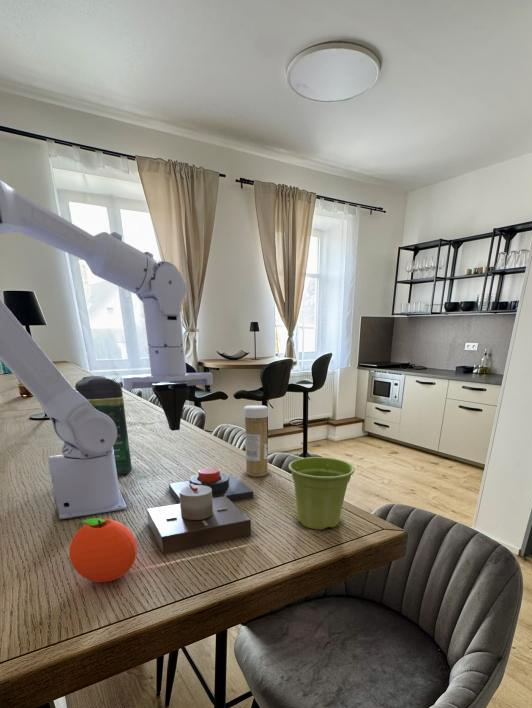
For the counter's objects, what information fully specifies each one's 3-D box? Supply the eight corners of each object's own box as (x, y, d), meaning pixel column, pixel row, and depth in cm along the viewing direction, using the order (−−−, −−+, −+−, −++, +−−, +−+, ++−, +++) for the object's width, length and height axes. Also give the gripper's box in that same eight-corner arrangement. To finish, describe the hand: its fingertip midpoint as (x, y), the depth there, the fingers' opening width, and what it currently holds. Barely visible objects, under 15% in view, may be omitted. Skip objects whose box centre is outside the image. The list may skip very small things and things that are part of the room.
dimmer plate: (163, 554, 52) (161, 535, 51) (148, 524, 60) (146, 507, 59) (251, 536, 57) (250, 518, 56) (226, 510, 65) (225, 494, 64)
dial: (217, 516, 57) (216, 490, 55) (186, 522, 55) (183, 495, 53) (207, 505, 60) (206, 481, 59) (177, 510, 58) (175, 485, 57)
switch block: (183, 510, 65) (182, 492, 64) (169, 490, 73) (167, 474, 72) (253, 498, 70) (253, 481, 69) (232, 481, 78) (231, 466, 77)
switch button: (202, 484, 68) (201, 474, 68) (196, 478, 71) (195, 468, 71) (223, 481, 70) (222, 472, 69) (216, 475, 73) (215, 466, 72)
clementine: (56, 579, 46) (43, 522, 44) (108, 554, 52) (100, 501, 49) (101, 602, 42) (90, 540, 40) (153, 572, 48) (146, 516, 45)
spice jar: (272, 474, 83) (272, 406, 78) (255, 479, 80) (254, 409, 75) (257, 469, 86) (257, 403, 81) (240, 473, 83) (238, 406, 78)
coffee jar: (137, 475, 81) (125, 377, 74) (94, 481, 77) (77, 379, 70) (125, 462, 89) (113, 373, 82) (86, 468, 85) (70, 374, 78)
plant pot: (355, 514, 64) (359, 460, 61) (343, 540, 56) (348, 479, 53) (298, 506, 67) (299, 454, 64) (278, 529, 59) (279, 471, 56)
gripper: (122, 348, 61) (135, 438, 66) (216, 346, 67) (221, 429, 72) (116, 347, 66) (128, 430, 72) (203, 345, 73) (208, 422, 78)
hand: (174, 429), depth 72 cm, fingers closed
